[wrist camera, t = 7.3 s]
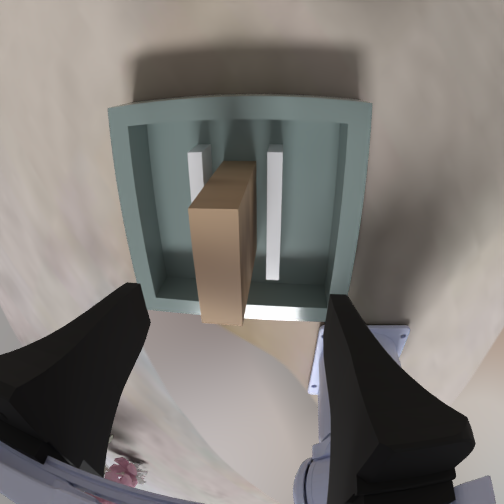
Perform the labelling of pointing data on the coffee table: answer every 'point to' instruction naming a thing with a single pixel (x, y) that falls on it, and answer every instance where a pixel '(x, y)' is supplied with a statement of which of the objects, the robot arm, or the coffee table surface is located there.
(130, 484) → the flower
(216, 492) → the coffee table surface
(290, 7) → the coffee table surface
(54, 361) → the robot arm
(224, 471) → the coffee table surface
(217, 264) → the wood block
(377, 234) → the coffee table surface
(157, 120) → the slotted divider tray
